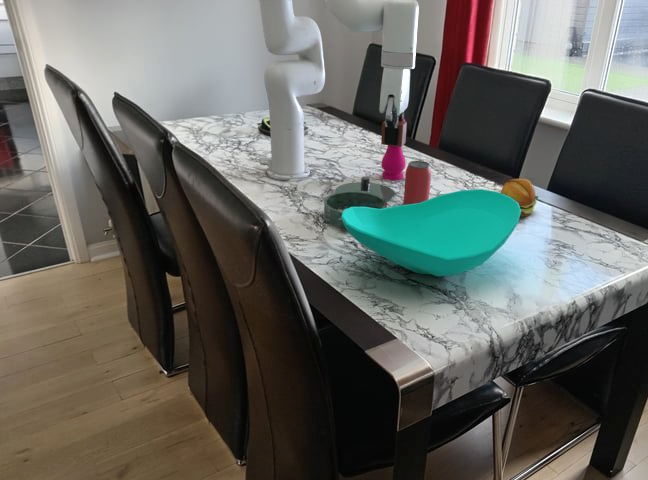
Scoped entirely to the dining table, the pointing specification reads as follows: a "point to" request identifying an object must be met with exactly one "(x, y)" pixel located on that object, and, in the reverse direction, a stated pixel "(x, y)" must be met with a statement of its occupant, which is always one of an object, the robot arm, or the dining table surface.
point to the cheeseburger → (521, 194)
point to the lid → (368, 188)
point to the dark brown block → (402, 133)
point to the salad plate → (265, 127)
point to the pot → (349, 204)
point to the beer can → (417, 182)
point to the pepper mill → (393, 163)
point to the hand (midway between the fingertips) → (393, 141)
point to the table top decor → (437, 230)
